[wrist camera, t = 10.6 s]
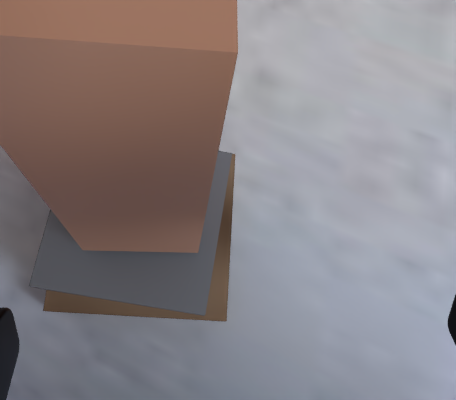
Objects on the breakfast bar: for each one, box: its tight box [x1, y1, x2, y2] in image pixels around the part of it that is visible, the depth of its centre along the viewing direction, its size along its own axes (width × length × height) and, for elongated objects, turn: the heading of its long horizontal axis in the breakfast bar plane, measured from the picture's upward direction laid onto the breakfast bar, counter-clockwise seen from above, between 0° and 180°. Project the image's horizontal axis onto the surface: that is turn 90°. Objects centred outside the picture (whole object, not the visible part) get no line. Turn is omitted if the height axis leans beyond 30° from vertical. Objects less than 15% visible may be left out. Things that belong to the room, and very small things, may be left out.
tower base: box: [43, 154, 235, 321], centre depth 21 cm, size 8×8×2 cm
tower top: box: [29, 151, 232, 316], centre depth 19 cm, size 7×7×2 cm
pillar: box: [0, 0, 238, 253], centre depth 13 cm, size 4×4×12 cm
